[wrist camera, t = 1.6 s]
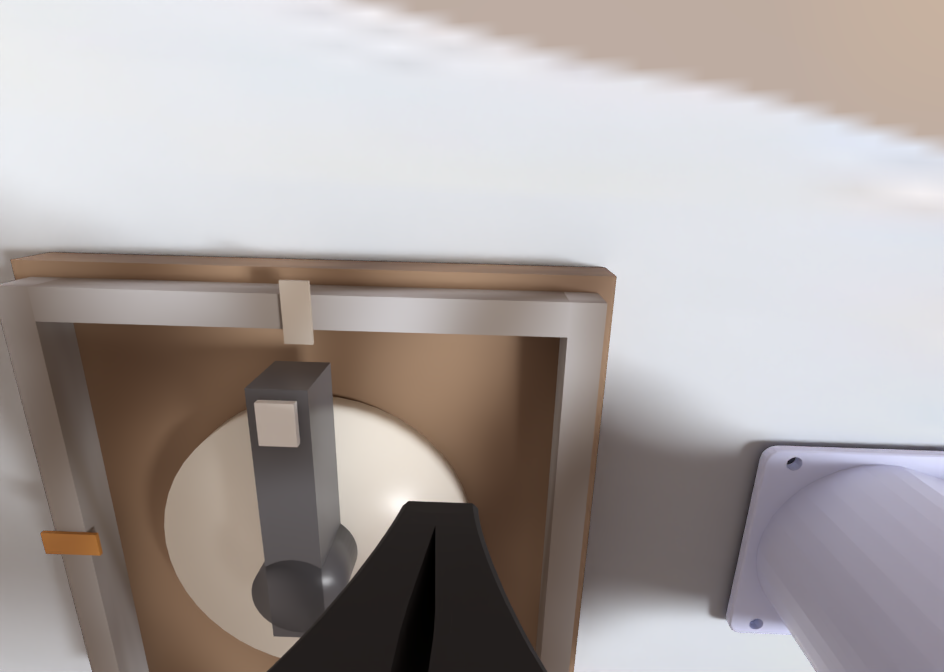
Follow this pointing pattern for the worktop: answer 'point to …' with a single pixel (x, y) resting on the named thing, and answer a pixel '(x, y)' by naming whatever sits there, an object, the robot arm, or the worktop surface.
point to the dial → (293, 503)
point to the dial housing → (353, 377)
